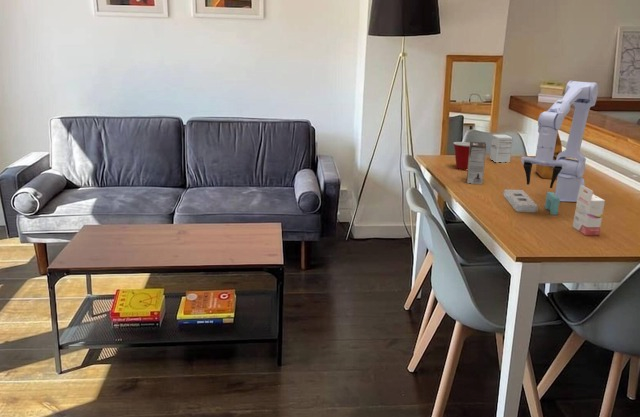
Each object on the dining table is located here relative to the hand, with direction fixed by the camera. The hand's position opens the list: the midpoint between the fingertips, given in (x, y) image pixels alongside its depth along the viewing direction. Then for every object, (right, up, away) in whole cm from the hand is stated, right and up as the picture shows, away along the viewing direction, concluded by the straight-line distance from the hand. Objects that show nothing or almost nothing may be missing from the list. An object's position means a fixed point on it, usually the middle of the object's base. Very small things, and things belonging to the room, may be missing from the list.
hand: (539, 185), depth 204 cm
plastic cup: (-11, +10, +64) cm, 65 cm away
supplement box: (+10, +14, +78) cm, 80 cm away
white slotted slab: (-2, -6, +13) cm, 15 cm away
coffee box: (-11, +3, +43) cm, 44 cm away
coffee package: (+23, +6, +53) cm, 58 cm away
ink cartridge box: (+10, -15, -14) cm, 23 cm away
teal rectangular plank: (+6, -9, +5) cm, 12 cm away
